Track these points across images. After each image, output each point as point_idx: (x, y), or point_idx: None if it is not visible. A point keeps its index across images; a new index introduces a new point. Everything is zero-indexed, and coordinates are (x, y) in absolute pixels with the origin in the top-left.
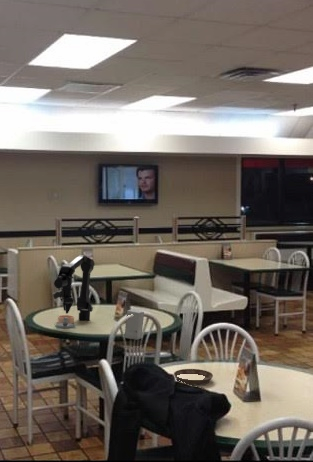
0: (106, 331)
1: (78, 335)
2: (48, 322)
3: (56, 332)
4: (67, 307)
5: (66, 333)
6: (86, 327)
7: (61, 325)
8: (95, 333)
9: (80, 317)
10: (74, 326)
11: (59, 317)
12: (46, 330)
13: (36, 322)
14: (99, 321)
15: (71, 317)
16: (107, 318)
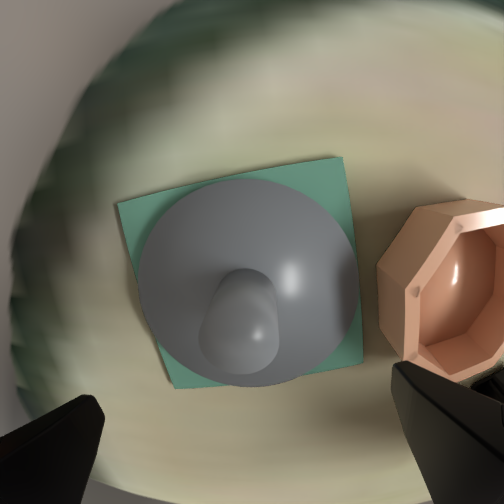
0: (167, 499)
1: (16, 365)
2: (455, 106)
3: (29, 217)
4: (18, 476)
5: (25, 297)
6: (260, 444)
7: (213, 254)
8: (98, 454)
9: (497, 393)
10: (223, 379)
11: (446, 227)
12: (78, 114)
13: (425, 6)
14: None
15: (433, 368)
16: None
